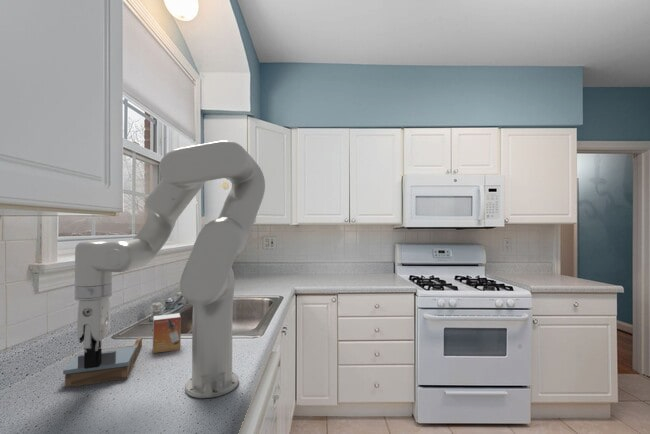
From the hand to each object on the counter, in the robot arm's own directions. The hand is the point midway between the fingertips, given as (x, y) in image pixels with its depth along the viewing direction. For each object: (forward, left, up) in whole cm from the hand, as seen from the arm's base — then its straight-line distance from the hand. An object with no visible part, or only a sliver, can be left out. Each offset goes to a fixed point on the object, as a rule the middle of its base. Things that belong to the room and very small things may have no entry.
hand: (92, 366), depth 83 cm
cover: (+9, 0, -2) cm, 9 cm away
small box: (+22, -15, -6) cm, 27 cm away
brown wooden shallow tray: (+15, 0, -6) cm, 16 cm away
